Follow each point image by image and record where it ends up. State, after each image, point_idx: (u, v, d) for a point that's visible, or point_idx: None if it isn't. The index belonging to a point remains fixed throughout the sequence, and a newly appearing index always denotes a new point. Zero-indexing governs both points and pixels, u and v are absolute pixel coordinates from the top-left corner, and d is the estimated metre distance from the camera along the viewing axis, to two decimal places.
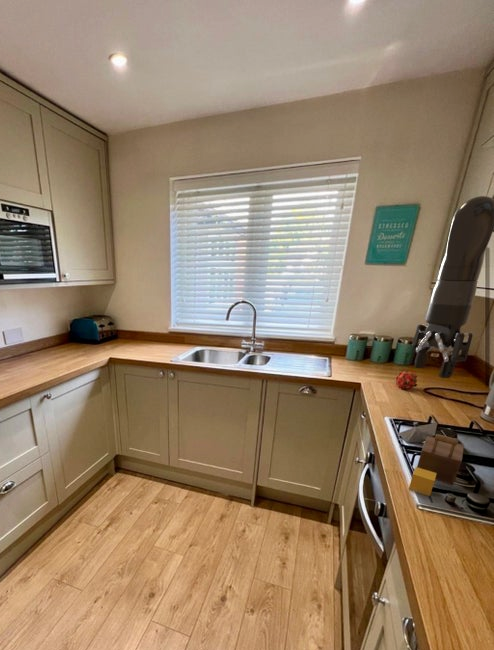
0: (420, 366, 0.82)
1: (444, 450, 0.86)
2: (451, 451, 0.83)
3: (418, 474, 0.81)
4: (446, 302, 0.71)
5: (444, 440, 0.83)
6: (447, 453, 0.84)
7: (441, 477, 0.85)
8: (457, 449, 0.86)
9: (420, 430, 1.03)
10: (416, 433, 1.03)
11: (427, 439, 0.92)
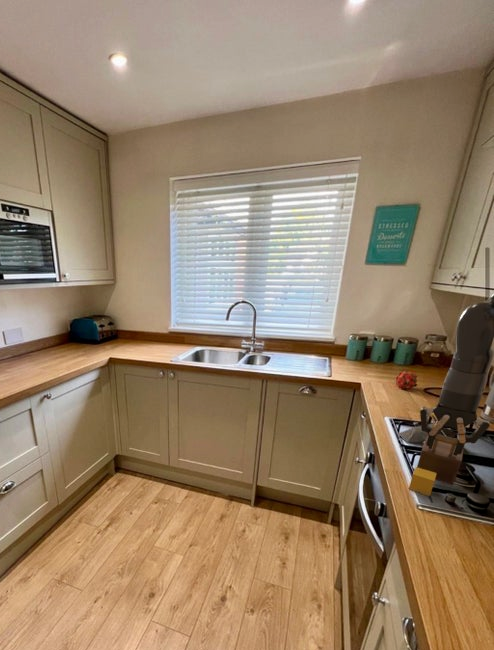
0: None
1: (444, 450, 0.86)
2: (451, 451, 0.83)
3: (418, 474, 0.81)
4: (475, 393, 0.75)
5: (444, 440, 0.83)
6: (447, 453, 0.84)
7: (441, 477, 0.85)
8: None
9: (420, 430, 1.03)
10: (416, 433, 1.03)
11: (427, 439, 0.92)
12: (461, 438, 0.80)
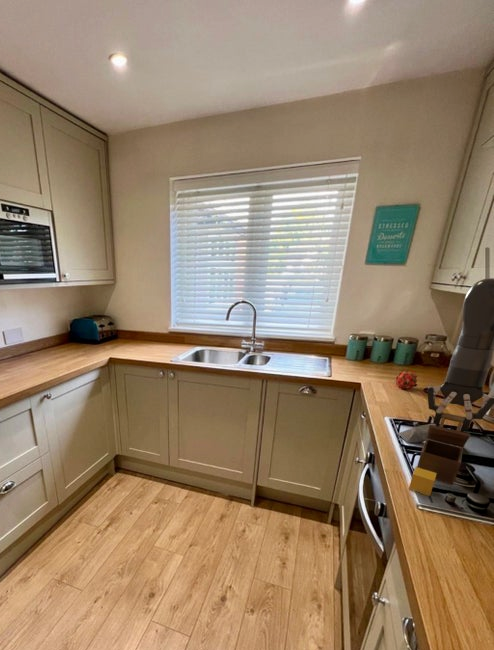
0: None
1: None
2: (458, 428, 0.83)
3: (418, 474, 0.81)
4: (482, 368, 0.77)
5: (451, 416, 0.84)
6: None
7: (441, 477, 0.85)
8: None
9: (420, 430, 1.03)
10: (416, 433, 1.03)
11: None
12: (468, 414, 0.82)
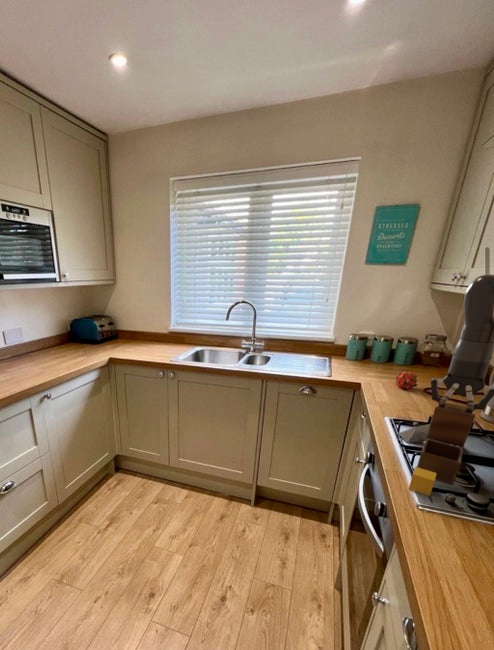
0: None
1: None
2: None
3: (418, 474, 0.81)
4: (483, 360, 0.81)
5: (454, 405, 0.88)
6: None
7: (441, 477, 0.85)
8: None
9: (420, 430, 1.03)
10: (416, 433, 1.03)
11: None
12: (470, 405, 0.86)
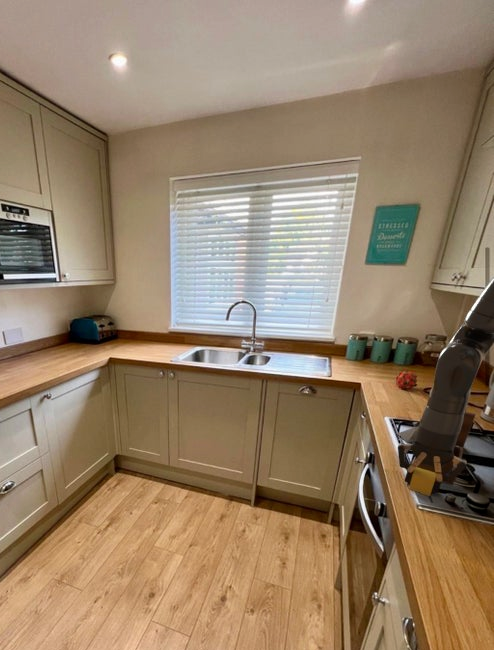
0: None
1: None
2: None
3: (418, 474, 0.81)
4: (451, 433, 0.73)
5: None
6: None
7: None
8: None
9: None
10: (416, 433, 1.04)
11: None
12: (438, 476, 0.79)
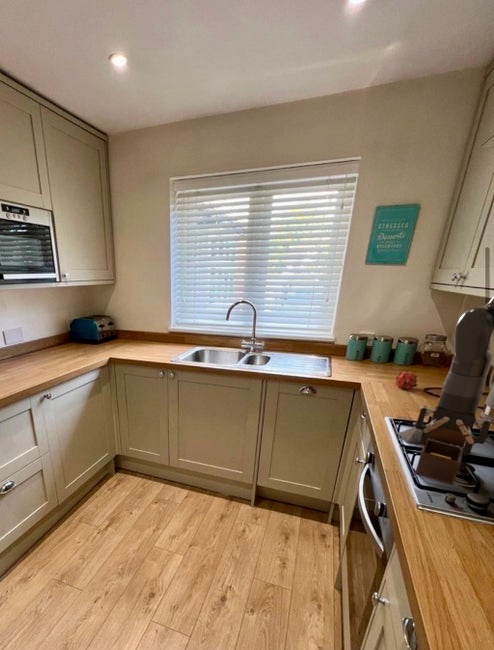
0: None
1: None
2: None
3: None
4: (474, 395, 0.77)
5: None
6: None
7: (441, 477, 0.85)
8: None
9: (420, 430, 1.03)
10: (416, 433, 1.04)
11: None
12: (468, 439, 0.81)
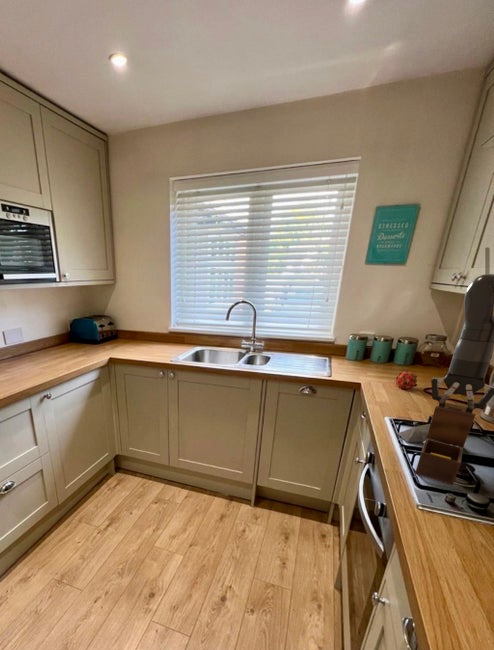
0: None
1: None
2: None
3: None
4: (484, 360, 0.81)
5: (454, 404, 0.88)
6: None
7: (441, 477, 0.85)
8: None
9: (420, 430, 1.03)
10: (416, 433, 1.04)
11: None
12: (470, 404, 0.86)
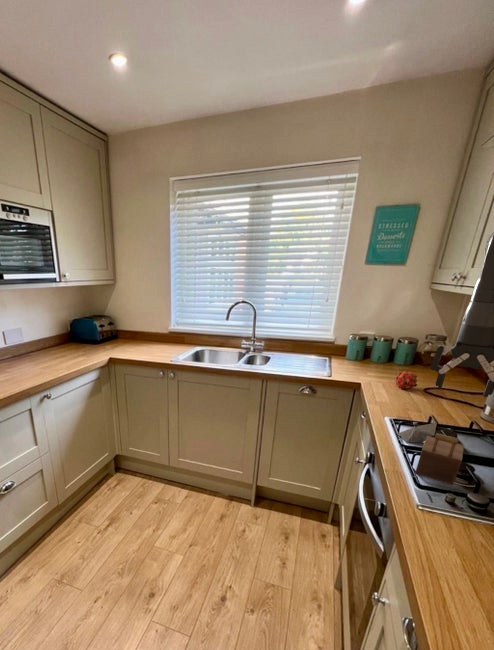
0: None
1: (444, 449, 0.86)
2: (451, 450, 0.83)
3: None
4: None
5: (444, 439, 0.83)
6: (447, 452, 0.84)
7: (441, 477, 0.85)
8: (457, 448, 0.86)
9: (420, 430, 1.03)
10: (416, 433, 1.04)
11: (427, 439, 0.92)
12: (492, 376, 0.74)
